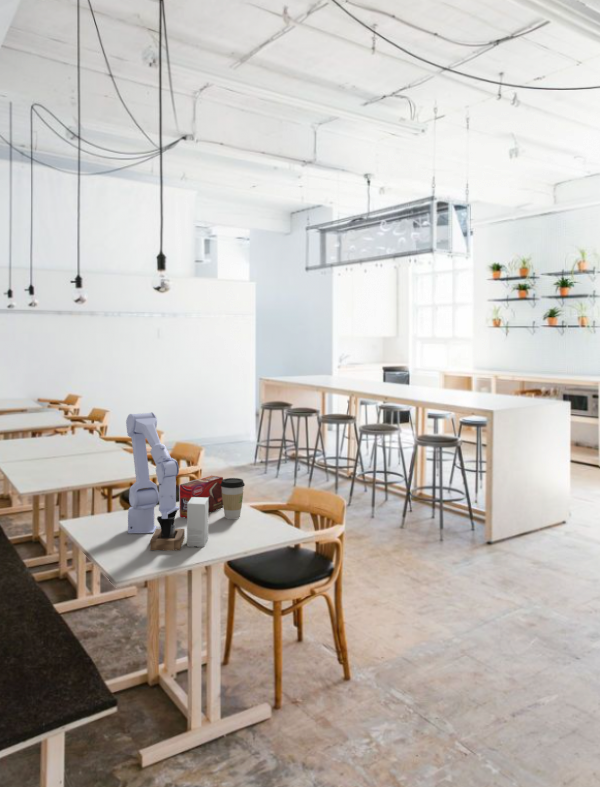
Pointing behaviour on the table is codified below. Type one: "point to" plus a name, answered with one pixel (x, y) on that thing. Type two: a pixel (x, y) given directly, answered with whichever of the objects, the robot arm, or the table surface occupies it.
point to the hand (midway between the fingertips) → (167, 533)
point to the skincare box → (197, 521)
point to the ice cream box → (201, 493)
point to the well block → (167, 540)
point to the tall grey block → (171, 533)
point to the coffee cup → (232, 497)
